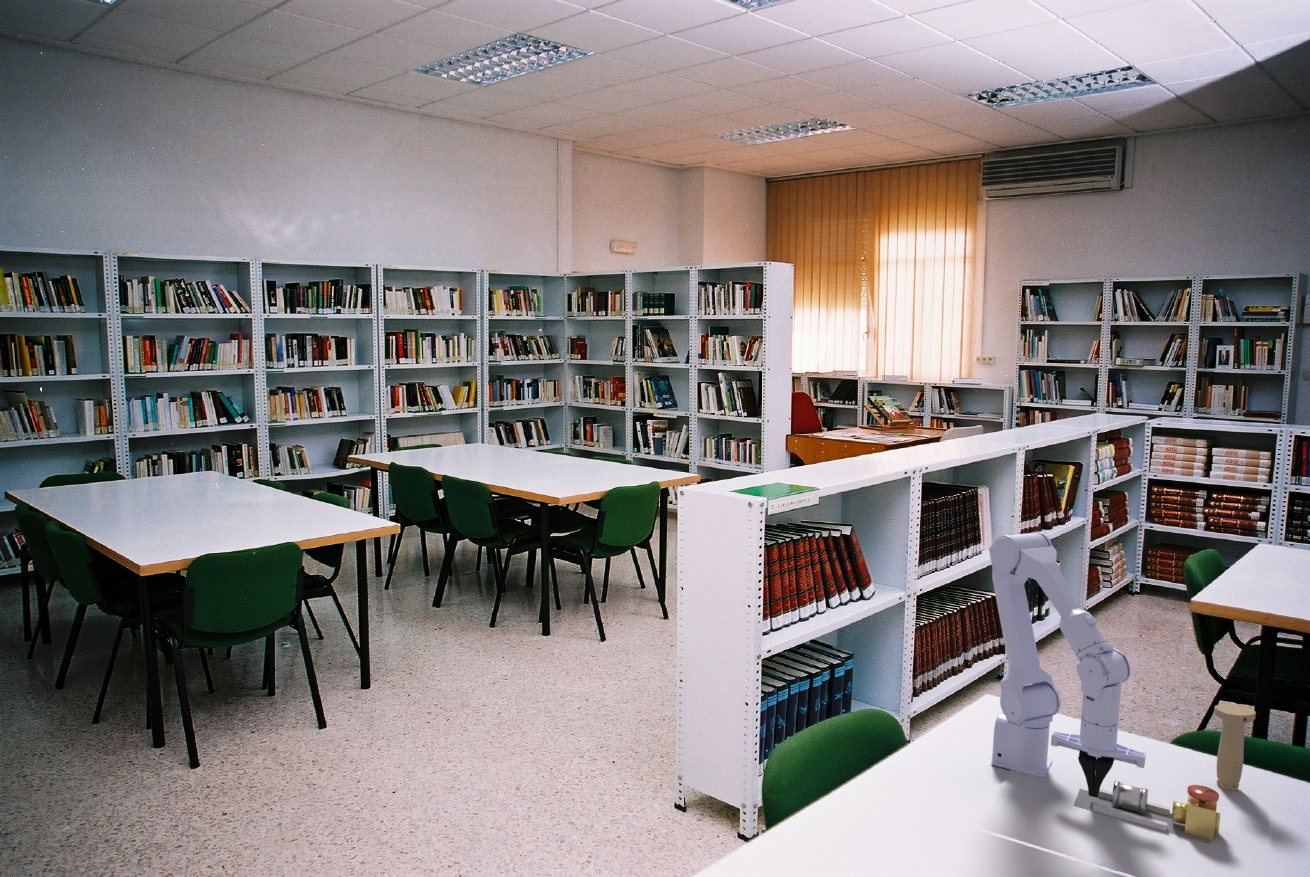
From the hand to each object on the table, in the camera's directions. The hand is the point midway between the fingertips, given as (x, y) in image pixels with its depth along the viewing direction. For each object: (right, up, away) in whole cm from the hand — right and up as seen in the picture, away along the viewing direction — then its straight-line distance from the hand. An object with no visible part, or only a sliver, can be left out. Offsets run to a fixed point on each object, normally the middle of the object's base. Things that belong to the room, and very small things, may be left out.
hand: (1093, 794), depth 155 cm
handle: (+27, -2, +6) cm, 28 cm away
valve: (+13, -3, -8) cm, 16 cm away
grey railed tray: (+6, -2, -4) cm, 8 cm away
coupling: (+5, -2, -3) cm, 6 cm away
